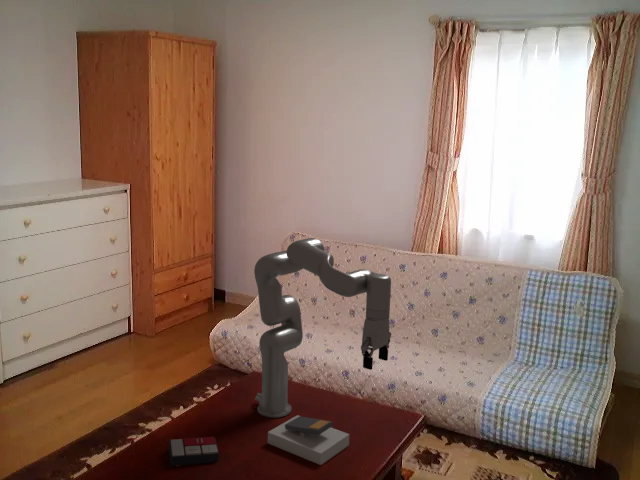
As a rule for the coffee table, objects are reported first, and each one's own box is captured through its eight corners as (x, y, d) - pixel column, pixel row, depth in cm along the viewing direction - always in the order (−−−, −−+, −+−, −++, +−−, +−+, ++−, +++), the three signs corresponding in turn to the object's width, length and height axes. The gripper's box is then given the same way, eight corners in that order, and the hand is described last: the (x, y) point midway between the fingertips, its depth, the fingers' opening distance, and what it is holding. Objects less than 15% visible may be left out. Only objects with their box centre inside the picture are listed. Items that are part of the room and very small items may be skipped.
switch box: (267, 443, 212) (267, 427, 211) (297, 425, 225) (297, 411, 224) (320, 465, 199) (321, 449, 198) (348, 445, 212) (349, 430, 211)
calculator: (219, 451, 199) (170, 455, 195) (219, 464, 200) (170, 467, 196) (215, 435, 210) (169, 437, 206) (214, 447, 211) (168, 450, 206)
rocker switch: (285, 429, 212) (284, 424, 212) (300, 420, 218) (299, 415, 218) (318, 435, 203) (318, 429, 203) (333, 425, 210) (332, 420, 210)
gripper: (381, 304, 210) (379, 353, 213) (353, 317, 196) (351, 369, 199) (401, 309, 206) (398, 359, 209) (373, 321, 192) (371, 375, 195)
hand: (375, 364), depth 204 cm, fingers open, 9 cm apart
